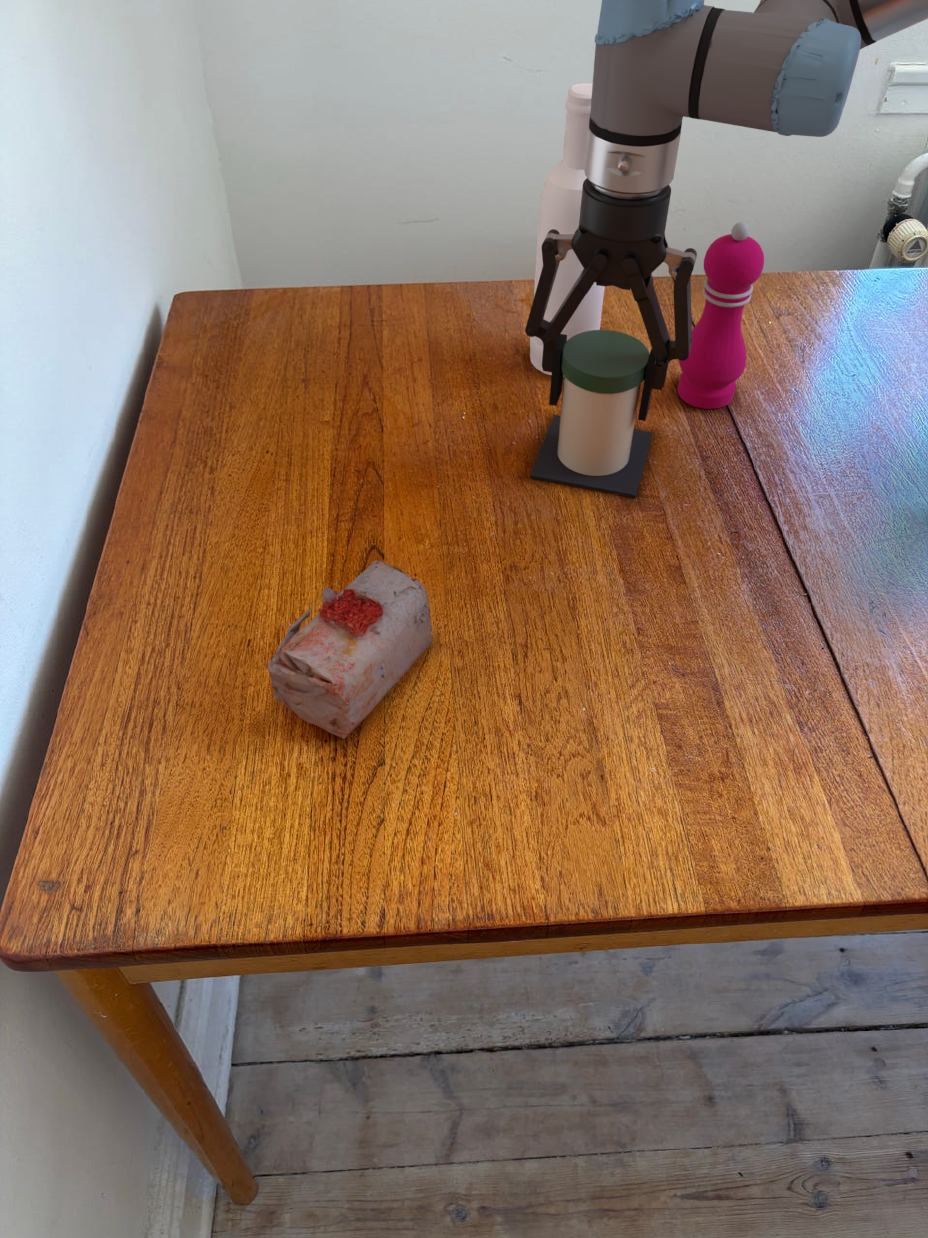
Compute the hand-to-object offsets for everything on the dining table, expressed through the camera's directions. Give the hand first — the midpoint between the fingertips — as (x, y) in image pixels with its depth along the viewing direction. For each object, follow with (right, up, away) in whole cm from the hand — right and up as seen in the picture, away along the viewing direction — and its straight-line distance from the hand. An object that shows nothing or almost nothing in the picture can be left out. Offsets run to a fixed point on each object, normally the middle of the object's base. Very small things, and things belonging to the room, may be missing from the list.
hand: (599, 404), depth 102 cm
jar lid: (0, +4, -4) cm, 6 cm away
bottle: (-2, +9, +17) cm, 20 cm away
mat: (0, -4, +5) cm, 6 cm away
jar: (0, -4, +4) cm, 6 cm away
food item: (-23, -27, -16) cm, 39 cm away
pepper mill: (+14, +4, +13) cm, 19 cm away
